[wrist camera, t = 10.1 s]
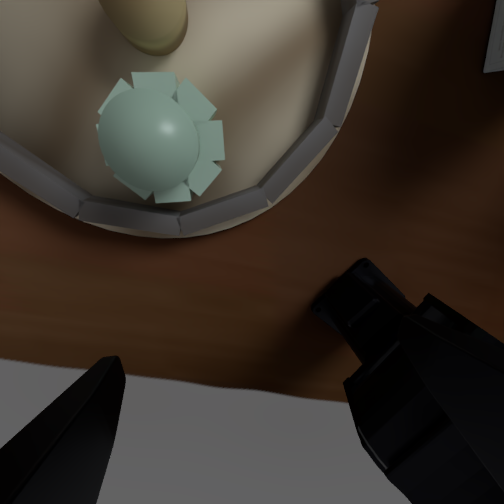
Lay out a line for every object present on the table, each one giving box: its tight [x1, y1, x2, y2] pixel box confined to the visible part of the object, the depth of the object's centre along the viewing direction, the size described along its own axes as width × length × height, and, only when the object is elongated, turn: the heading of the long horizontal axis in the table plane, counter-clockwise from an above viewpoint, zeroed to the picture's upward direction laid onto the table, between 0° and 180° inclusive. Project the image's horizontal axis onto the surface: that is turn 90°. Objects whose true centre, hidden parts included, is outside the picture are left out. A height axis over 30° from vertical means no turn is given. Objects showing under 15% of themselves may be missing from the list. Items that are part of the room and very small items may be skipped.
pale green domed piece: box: [96, 72, 225, 203], centre depth 13 cm, size 6×6×6 cm
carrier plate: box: [0, 0, 379, 238], centre depth 12 cm, size 24×24×4 cm
